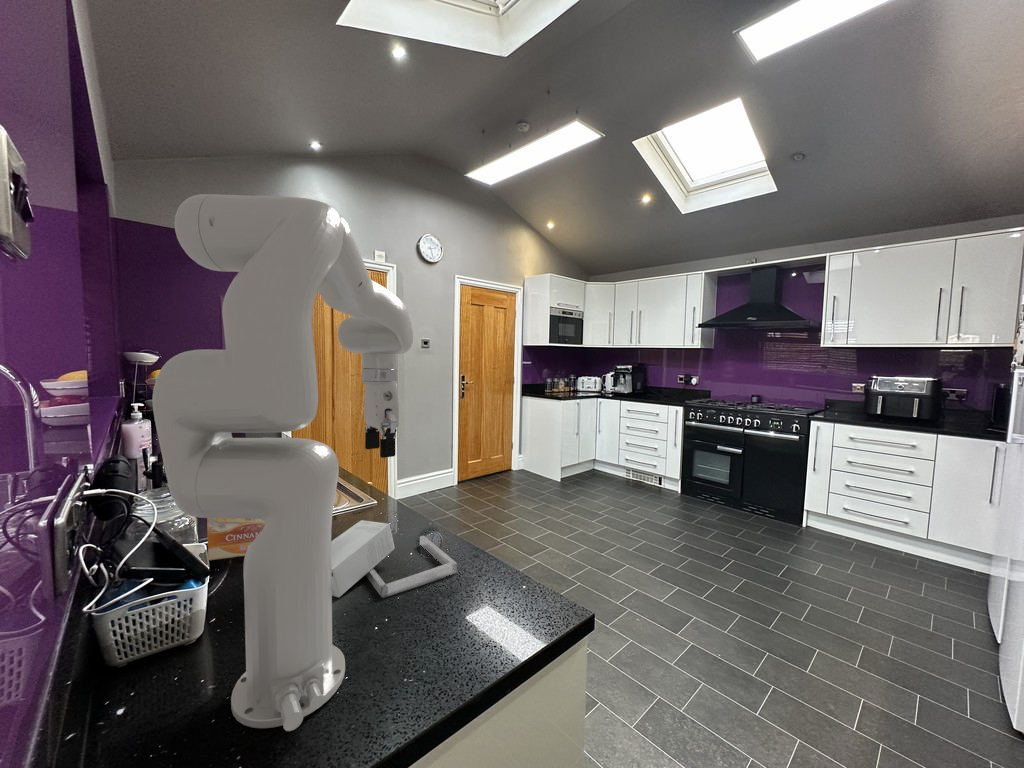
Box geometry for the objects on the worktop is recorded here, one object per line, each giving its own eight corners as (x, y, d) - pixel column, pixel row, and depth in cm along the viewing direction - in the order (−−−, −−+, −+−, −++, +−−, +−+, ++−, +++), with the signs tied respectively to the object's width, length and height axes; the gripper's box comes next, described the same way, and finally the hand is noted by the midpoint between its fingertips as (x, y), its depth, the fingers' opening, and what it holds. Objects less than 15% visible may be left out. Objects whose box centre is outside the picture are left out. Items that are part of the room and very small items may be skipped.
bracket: (456, 572, 79) (457, 563, 79) (382, 599, 70) (382, 588, 70) (423, 543, 91) (423, 535, 91) (356, 563, 82) (356, 554, 82)
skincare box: (367, 542, 86) (306, 591, 73) (361, 517, 85) (298, 562, 72) (397, 548, 82) (338, 601, 69) (390, 522, 81) (329, 570, 68)
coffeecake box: (207, 565, 80) (204, 470, 79) (216, 549, 87) (213, 461, 85) (292, 552, 86) (290, 463, 85) (295, 538, 93) (293, 455, 91)
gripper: (411, 378, 85) (411, 458, 86) (382, 375, 99) (382, 444, 100) (376, 378, 80) (376, 462, 81) (351, 375, 94) (351, 447, 95)
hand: (379, 452), depth 90 cm, fingers open, 9 cm apart
